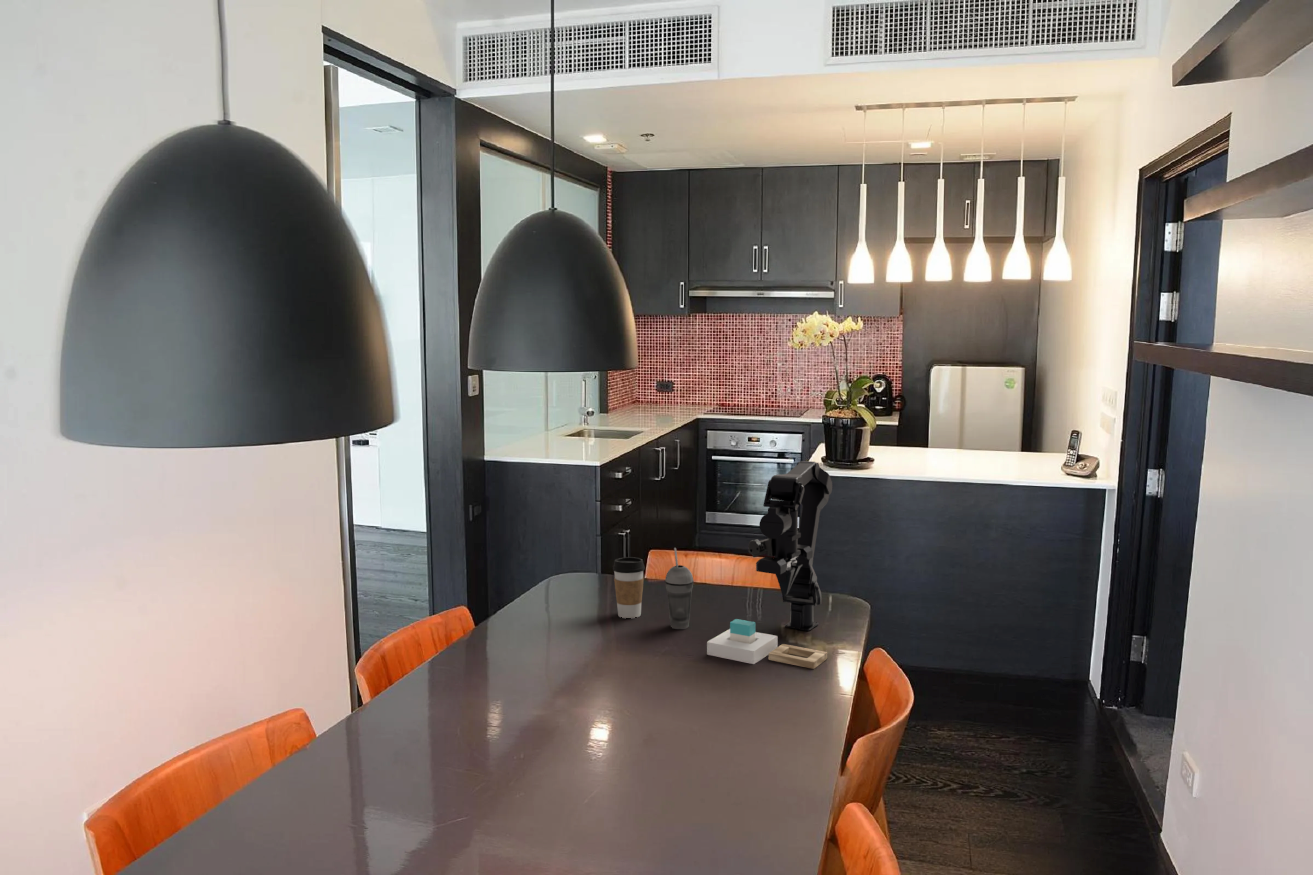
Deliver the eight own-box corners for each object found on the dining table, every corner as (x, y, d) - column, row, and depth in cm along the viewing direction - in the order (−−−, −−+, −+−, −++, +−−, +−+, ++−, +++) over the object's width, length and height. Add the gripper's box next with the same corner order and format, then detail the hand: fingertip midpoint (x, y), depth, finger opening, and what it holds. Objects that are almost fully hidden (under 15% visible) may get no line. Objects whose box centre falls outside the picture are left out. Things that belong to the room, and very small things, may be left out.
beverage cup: (682, 632, 230) (682, 553, 228) (659, 627, 235) (658, 549, 232) (699, 625, 236) (699, 547, 234) (676, 619, 240) (675, 543, 238)
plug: (736, 647, 219) (736, 618, 219) (755, 651, 217) (755, 622, 216) (730, 651, 217) (730, 622, 216) (749, 655, 214) (749, 625, 213)
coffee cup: (608, 618, 242) (607, 561, 240) (619, 609, 250) (618, 554, 248) (639, 621, 240) (639, 564, 238) (649, 611, 248) (648, 556, 246)
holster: (782, 649, 217) (782, 643, 217) (827, 658, 212) (827, 652, 211) (768, 659, 211) (768, 653, 211) (813, 668, 205) (813, 662, 205)
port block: (732, 639, 225) (732, 627, 225) (777, 648, 219) (777, 635, 218) (707, 654, 215) (707, 641, 215) (753, 664, 209) (753, 651, 208)
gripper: (771, 518, 231) (771, 580, 233) (735, 533, 215) (735, 599, 217) (813, 523, 225) (813, 586, 227) (779, 538, 209) (779, 606, 211)
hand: (784, 594), depth 220 cm, fingers closed
